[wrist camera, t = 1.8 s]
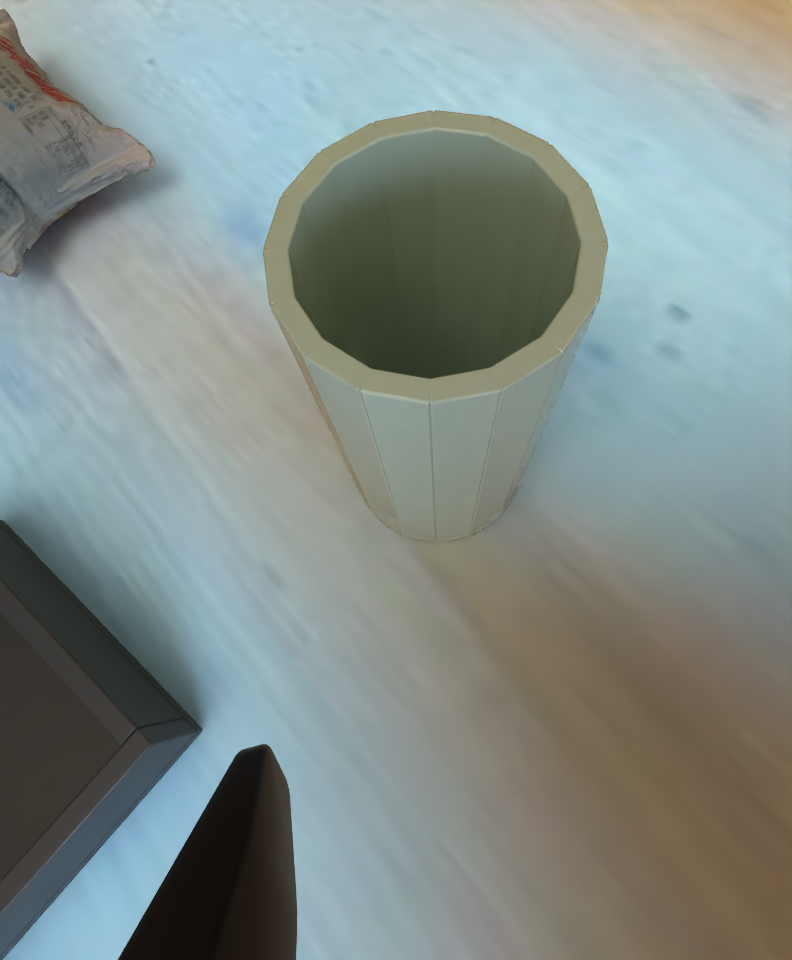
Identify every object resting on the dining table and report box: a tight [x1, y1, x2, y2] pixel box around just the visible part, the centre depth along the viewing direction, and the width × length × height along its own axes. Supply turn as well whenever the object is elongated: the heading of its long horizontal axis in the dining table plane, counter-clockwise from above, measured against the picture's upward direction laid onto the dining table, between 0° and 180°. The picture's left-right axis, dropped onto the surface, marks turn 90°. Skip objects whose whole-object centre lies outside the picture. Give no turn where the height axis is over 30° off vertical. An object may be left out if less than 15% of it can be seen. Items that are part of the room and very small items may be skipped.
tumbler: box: [263, 110, 608, 542], centre depth 18 cm, size 6×6×13 cm
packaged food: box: [0, 9, 156, 277], centre depth 27 cm, size 9×12×5 cm
